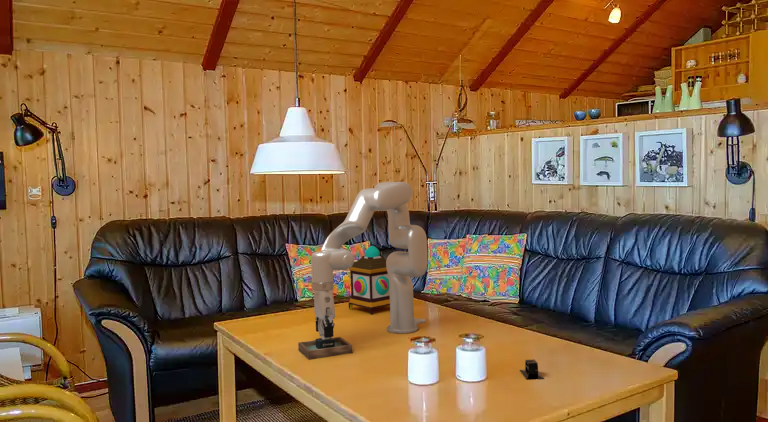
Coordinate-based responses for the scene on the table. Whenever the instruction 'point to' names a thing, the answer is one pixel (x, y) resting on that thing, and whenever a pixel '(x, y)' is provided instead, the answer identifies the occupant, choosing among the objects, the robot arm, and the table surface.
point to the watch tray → (325, 349)
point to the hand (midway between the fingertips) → (324, 334)
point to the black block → (531, 370)
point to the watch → (324, 341)
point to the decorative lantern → (370, 281)
